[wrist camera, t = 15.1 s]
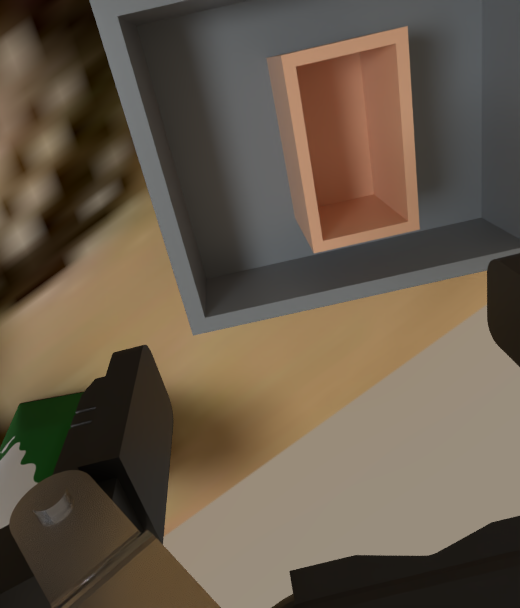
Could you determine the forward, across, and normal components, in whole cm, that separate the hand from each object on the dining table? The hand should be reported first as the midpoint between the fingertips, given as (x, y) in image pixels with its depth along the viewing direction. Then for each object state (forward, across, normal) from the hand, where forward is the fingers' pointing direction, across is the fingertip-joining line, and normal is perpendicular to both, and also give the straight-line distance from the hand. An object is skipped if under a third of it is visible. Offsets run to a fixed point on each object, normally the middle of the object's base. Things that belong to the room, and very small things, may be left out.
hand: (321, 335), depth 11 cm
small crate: (+22, -5, 0) cm, 23 cm away
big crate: (+23, -5, 0) cm, 24 cm away
